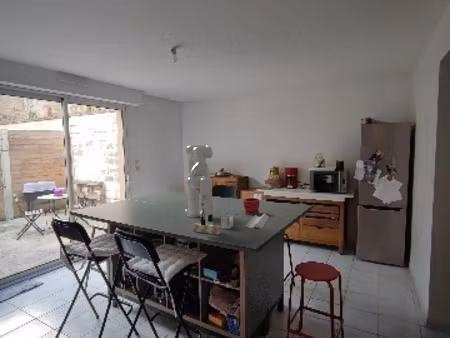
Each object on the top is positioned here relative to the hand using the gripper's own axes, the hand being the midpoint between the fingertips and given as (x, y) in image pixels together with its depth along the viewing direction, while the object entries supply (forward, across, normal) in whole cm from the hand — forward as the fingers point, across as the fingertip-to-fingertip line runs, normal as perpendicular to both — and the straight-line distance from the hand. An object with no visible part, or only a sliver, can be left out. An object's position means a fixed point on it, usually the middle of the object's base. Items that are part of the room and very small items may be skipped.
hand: (206, 223), depth 180 cm
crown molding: (+6, +35, -24) cm, 43 cm away
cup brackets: (+6, +16, 0) cm, 16 cm away
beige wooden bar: (+6, 0, 0) cm, 6 cm away
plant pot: (+5, +60, -11) cm, 61 cm away
